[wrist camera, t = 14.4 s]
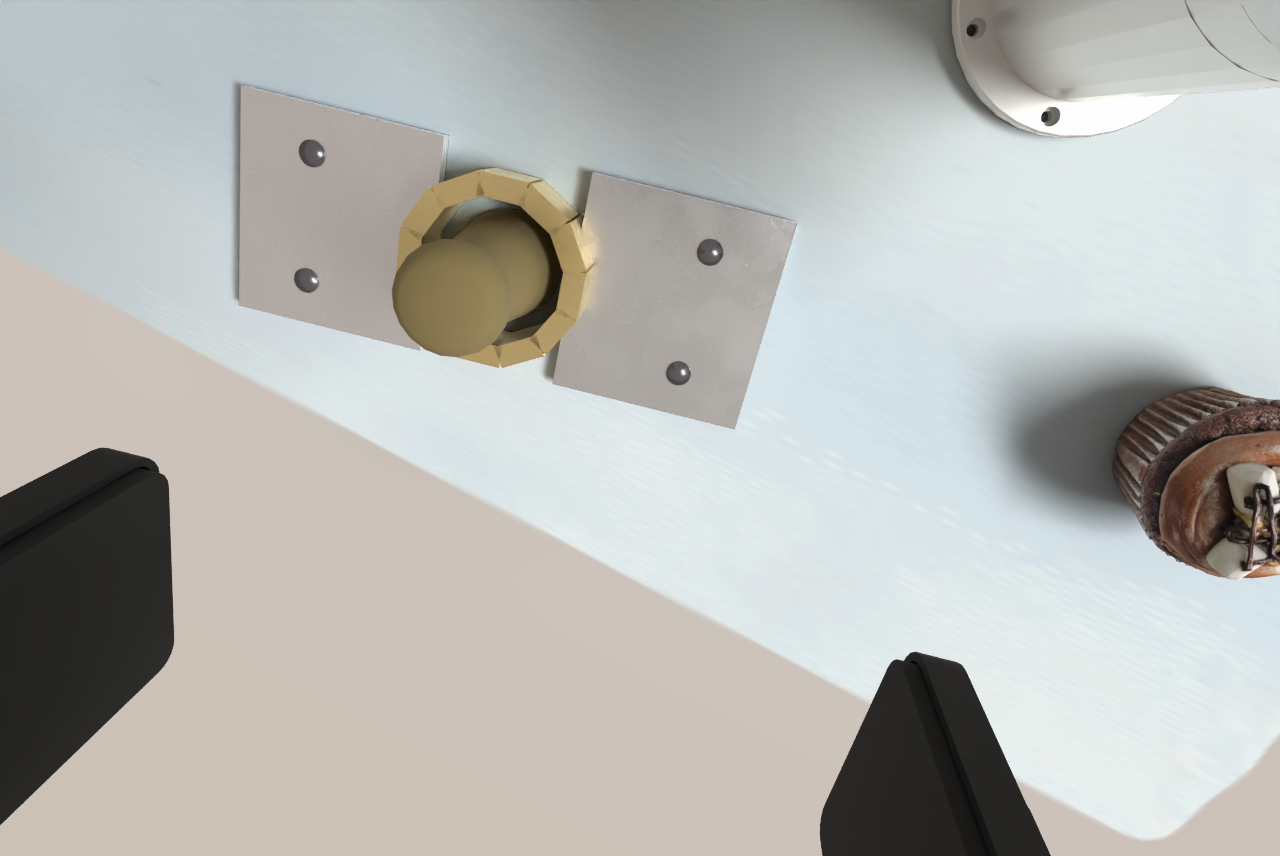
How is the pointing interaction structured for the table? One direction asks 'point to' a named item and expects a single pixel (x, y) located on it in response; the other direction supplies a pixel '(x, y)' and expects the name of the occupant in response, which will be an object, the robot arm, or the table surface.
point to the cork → (475, 282)
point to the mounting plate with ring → (587, 251)
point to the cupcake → (1207, 480)
